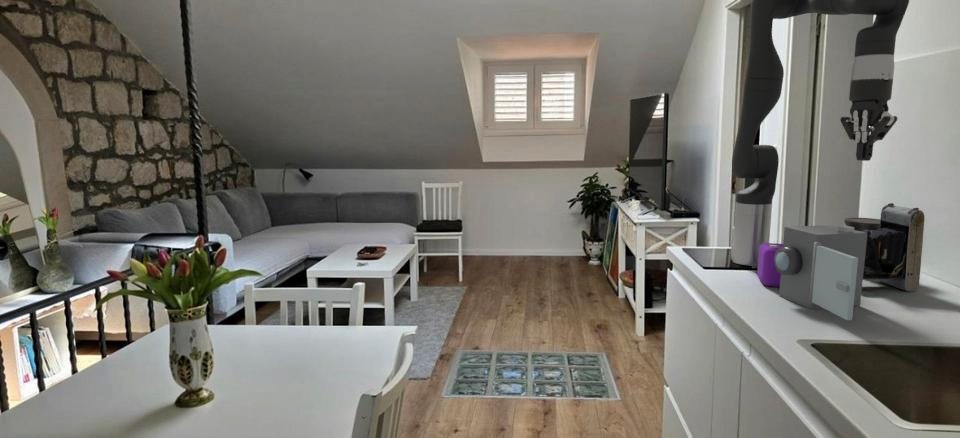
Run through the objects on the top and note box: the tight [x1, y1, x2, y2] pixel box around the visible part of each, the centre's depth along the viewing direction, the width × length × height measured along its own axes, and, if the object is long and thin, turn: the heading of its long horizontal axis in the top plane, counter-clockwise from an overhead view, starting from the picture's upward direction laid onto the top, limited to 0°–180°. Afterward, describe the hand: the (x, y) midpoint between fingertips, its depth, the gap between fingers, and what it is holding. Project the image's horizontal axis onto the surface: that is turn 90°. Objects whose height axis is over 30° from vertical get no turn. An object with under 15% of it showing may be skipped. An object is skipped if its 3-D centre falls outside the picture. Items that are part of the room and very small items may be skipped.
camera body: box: [774, 224, 867, 310], centre depth 129 cm, size 10×15×17 cm
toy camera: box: [757, 242, 783, 288], centre depth 145 cm, size 11×14×10 cm
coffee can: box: [844, 217, 880, 231], centre depth 154 cm, size 10×10×14 cm
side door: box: [809, 242, 858, 321], centre depth 116 cm, size 2×13×13 cm, turn 1°
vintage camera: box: [861, 202, 925, 293], centre depth 139 cm, size 10×15×20 cm, turn 95°
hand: (863, 160), depth 127 cm, fingers closed
